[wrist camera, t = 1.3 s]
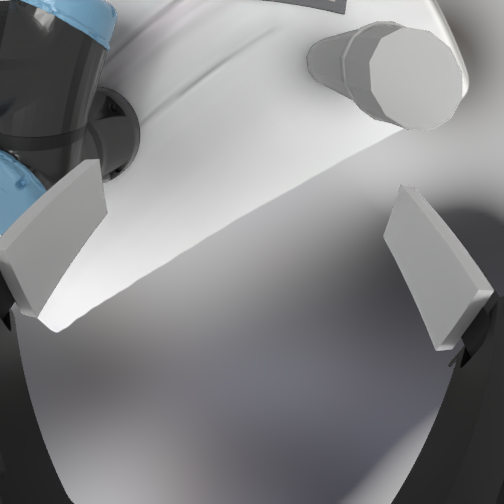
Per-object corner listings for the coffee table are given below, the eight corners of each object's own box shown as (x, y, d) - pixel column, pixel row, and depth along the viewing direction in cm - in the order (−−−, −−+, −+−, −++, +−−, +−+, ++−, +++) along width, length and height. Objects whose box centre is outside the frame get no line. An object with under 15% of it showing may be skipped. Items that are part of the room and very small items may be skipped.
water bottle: (300, 84, 35) (347, 123, 15) (309, 30, 31) (370, -4, 11) (366, 99, 36) (470, 161, 16) (376, 47, 31) (496, 57, 11)
